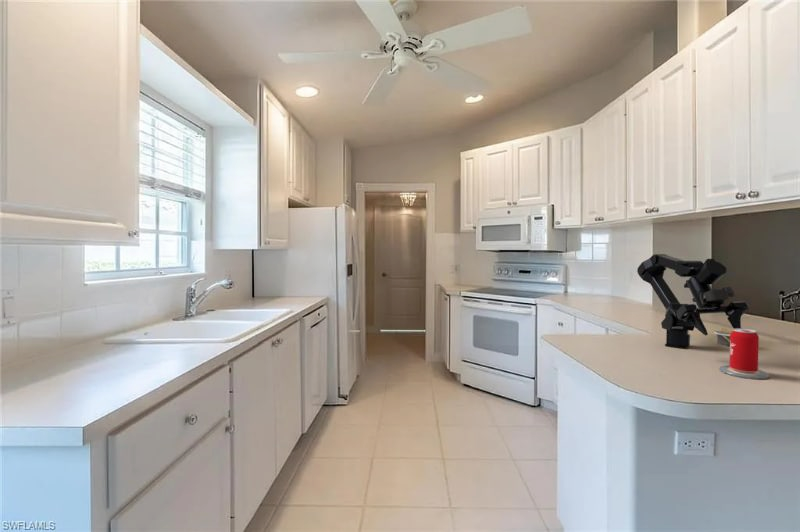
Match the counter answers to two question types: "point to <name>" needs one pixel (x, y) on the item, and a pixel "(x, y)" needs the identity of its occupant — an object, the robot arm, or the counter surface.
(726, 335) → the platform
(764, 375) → the slate coaster
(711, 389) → the counter surface
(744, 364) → the beverage can
